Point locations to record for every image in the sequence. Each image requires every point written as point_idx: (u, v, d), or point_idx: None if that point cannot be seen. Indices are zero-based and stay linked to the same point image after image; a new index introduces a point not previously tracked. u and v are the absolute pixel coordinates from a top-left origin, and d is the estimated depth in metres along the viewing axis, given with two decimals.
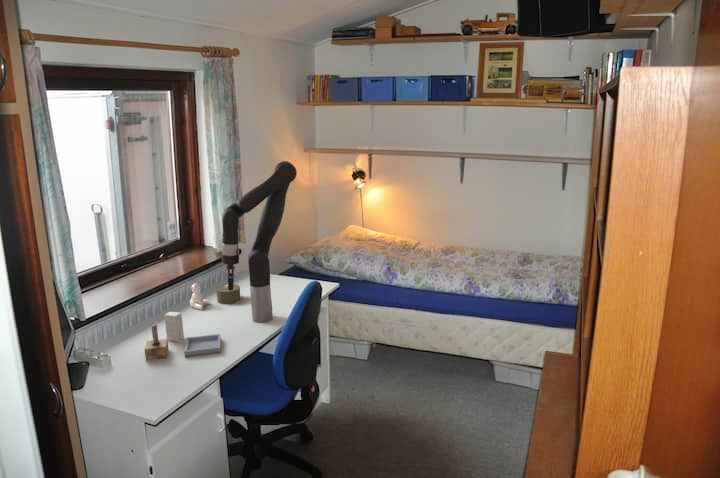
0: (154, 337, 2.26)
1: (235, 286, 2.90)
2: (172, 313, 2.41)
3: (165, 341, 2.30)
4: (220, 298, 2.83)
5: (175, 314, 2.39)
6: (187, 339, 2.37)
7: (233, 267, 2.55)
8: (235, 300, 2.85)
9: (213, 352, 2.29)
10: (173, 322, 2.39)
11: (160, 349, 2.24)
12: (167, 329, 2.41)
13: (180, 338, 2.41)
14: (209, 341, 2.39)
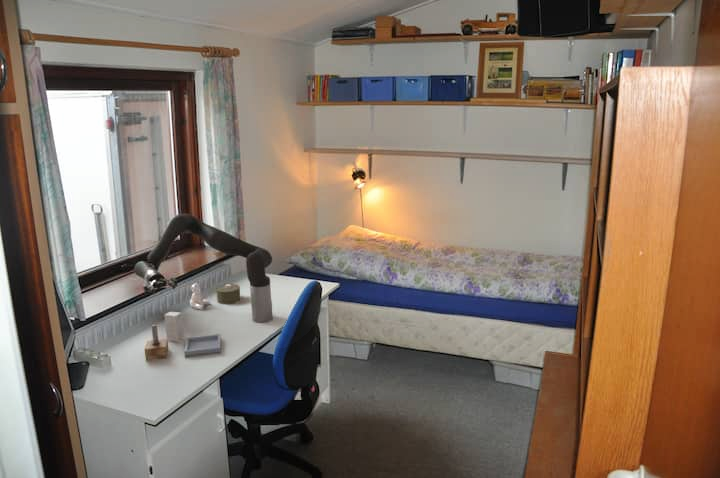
0: (154, 337, 2.26)
1: (235, 286, 2.90)
2: (172, 313, 2.41)
3: (165, 341, 2.30)
4: (220, 298, 2.84)
5: (175, 314, 2.39)
6: (187, 339, 2.37)
7: (159, 280, 2.55)
8: (235, 300, 2.85)
9: (213, 352, 2.29)
10: (173, 322, 2.39)
11: (160, 349, 2.24)
12: (167, 329, 2.41)
13: (180, 338, 2.41)
14: (209, 341, 2.39)
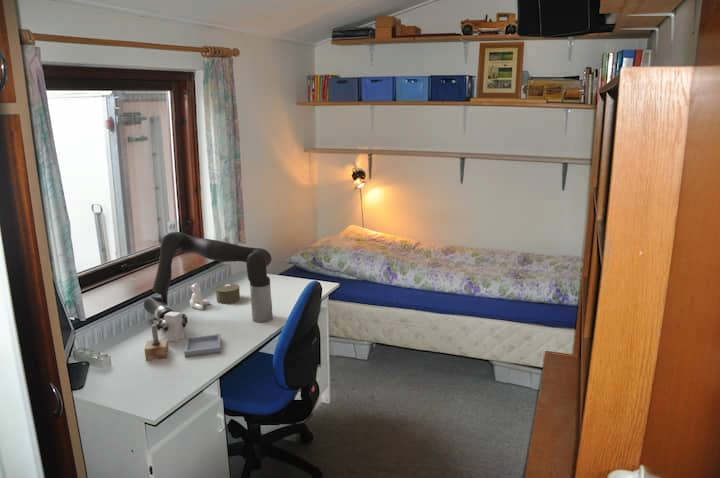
0: (154, 337, 2.26)
1: (235, 286, 2.90)
2: (172, 313, 2.41)
3: (165, 341, 2.30)
4: (219, 298, 2.84)
5: (175, 314, 2.39)
6: (187, 339, 2.37)
7: None
8: (234, 300, 2.85)
9: (213, 352, 2.29)
10: (173, 322, 2.39)
11: (160, 349, 2.24)
12: None
13: (180, 338, 2.41)
14: (209, 341, 2.39)
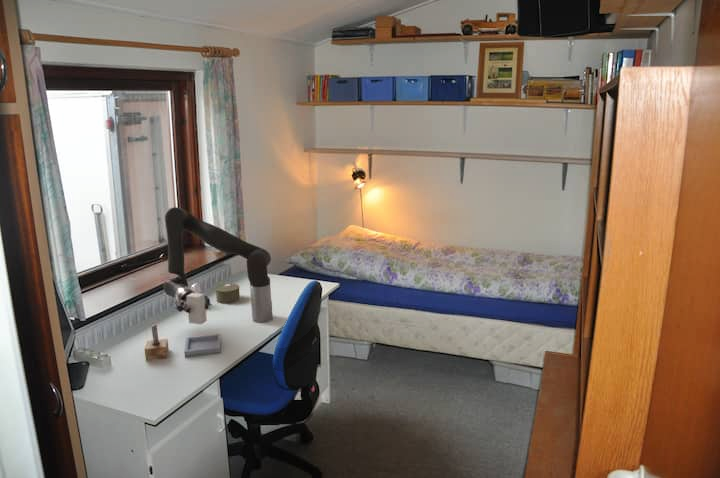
0: (154, 337, 2.26)
1: (234, 286, 2.91)
2: (194, 294, 2.30)
3: (165, 341, 2.30)
4: (219, 297, 2.84)
5: (198, 295, 2.29)
6: (187, 339, 2.37)
7: None
8: (234, 300, 2.85)
9: (213, 352, 2.29)
10: (195, 303, 2.28)
11: (160, 349, 2.24)
12: None
13: (203, 320, 2.31)
14: (209, 341, 2.39)
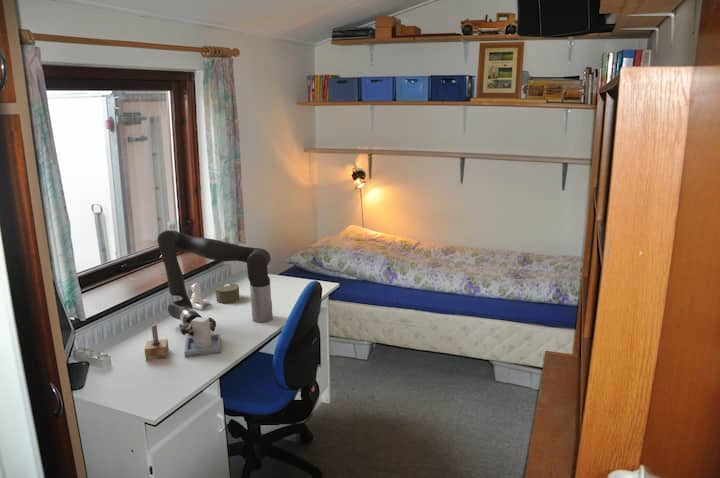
0: (154, 337, 2.26)
1: (234, 286, 2.91)
2: (200, 319, 2.32)
3: (165, 341, 2.30)
4: (219, 297, 2.84)
5: (203, 320, 2.31)
6: (187, 339, 2.37)
7: None
8: (234, 300, 2.86)
9: (213, 352, 2.29)
10: (200, 328, 2.30)
11: (160, 349, 2.24)
12: (194, 335, 2.32)
13: (208, 345, 2.33)
14: None
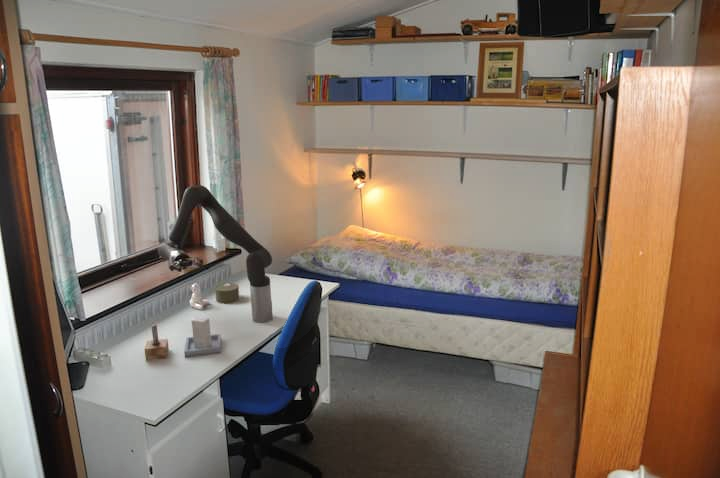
0: (154, 337, 2.26)
1: (234, 285, 2.91)
2: (200, 319, 2.32)
3: (165, 341, 2.30)
4: (218, 297, 2.85)
5: (203, 320, 2.31)
6: (187, 339, 2.37)
7: (185, 260, 2.50)
8: (233, 299, 2.86)
9: (213, 352, 2.29)
10: (200, 328, 2.30)
11: (160, 349, 2.24)
12: (194, 335, 2.32)
13: (208, 345, 2.33)
14: None
